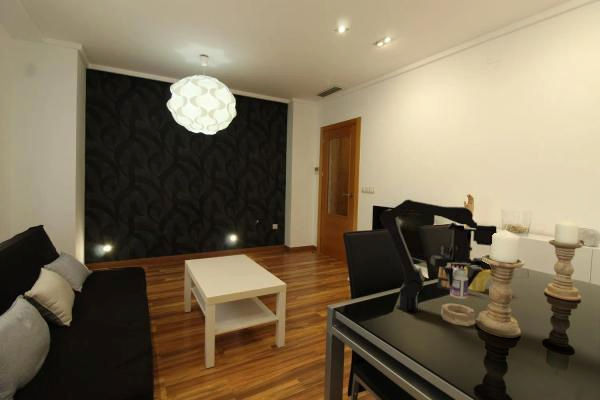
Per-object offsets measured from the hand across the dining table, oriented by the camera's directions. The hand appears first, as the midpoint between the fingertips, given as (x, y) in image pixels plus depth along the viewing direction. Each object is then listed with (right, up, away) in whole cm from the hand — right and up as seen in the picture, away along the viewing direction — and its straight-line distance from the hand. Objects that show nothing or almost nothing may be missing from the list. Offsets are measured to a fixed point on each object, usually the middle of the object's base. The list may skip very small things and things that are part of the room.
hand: (459, 286), depth 106 cm
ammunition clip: (+12, -11, +31) cm, 35 cm away
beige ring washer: (0, -12, 0) cm, 12 cm away
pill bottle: (0, -4, 0) cm, 4 cm away
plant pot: (+25, -11, +32) cm, 43 cm away
